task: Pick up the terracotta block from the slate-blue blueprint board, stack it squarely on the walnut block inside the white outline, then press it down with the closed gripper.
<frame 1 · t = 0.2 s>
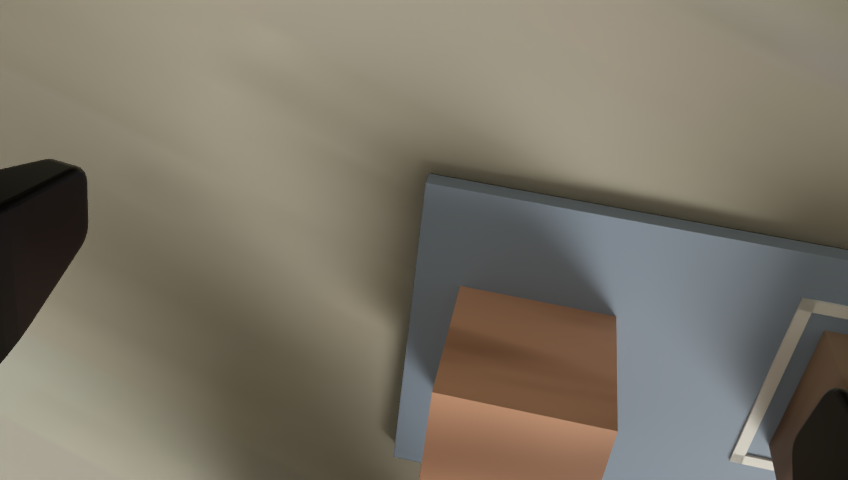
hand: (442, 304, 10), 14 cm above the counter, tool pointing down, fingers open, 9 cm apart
terracotta block: (524, 360, 27), point 1 cm above the counter, touching blueprint board
blueprint board: (688, 381, 27), on the counter
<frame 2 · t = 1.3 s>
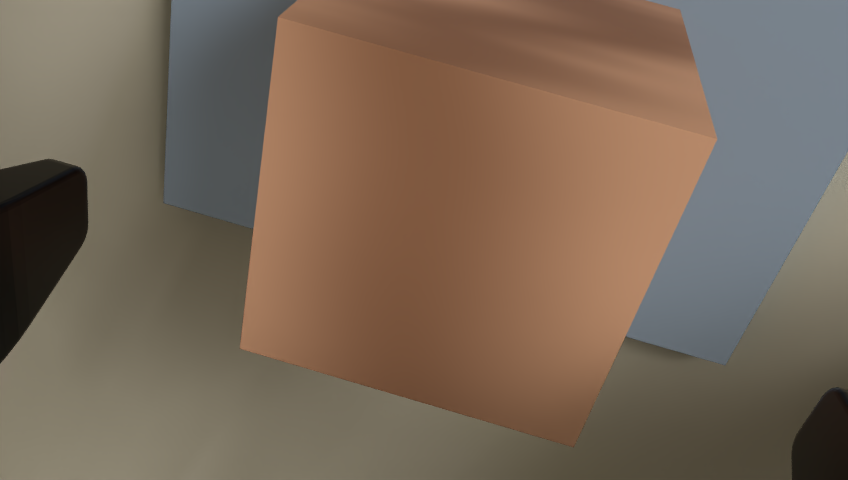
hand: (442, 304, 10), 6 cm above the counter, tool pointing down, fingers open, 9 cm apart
terracotta block: (489, 107, 14), point 1 cm above the counter, touching blueprint board
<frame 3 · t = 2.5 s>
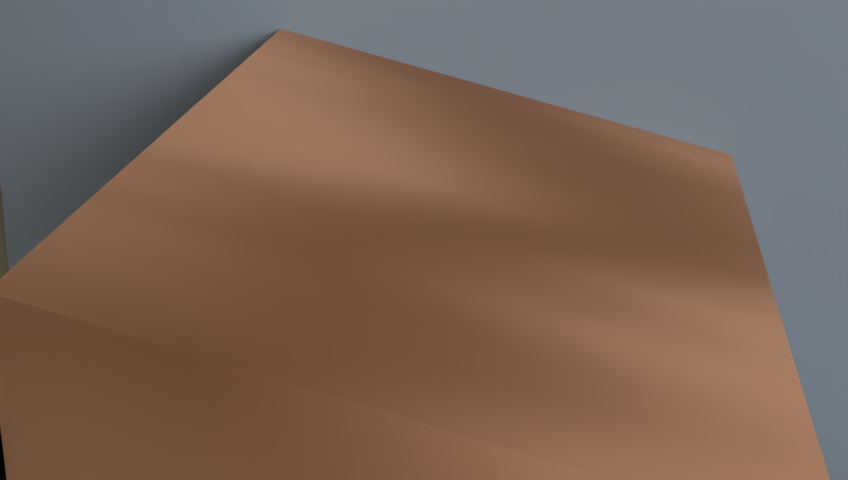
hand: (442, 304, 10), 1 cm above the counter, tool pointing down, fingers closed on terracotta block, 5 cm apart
terracotta block: (450, 274, 10), point 1 cm above the counter, touching blueprint board, gripper
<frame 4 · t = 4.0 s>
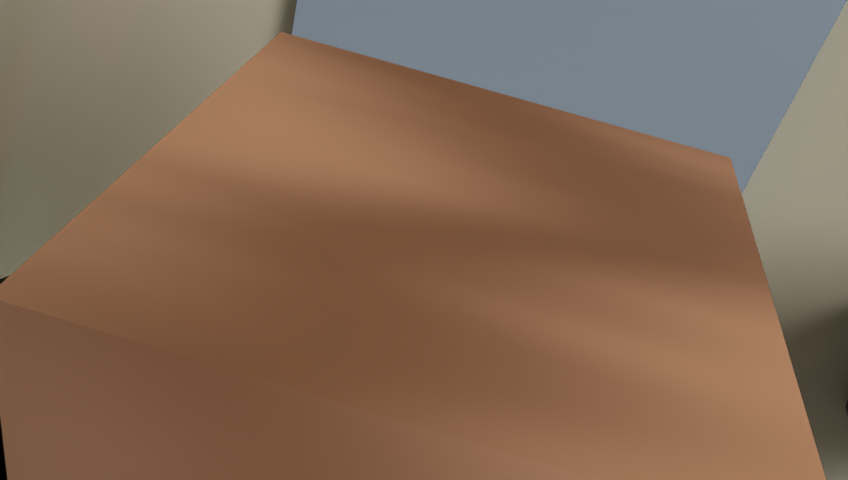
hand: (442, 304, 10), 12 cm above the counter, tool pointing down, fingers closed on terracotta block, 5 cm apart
terracotta block: (449, 276, 10), point 11 cm above the counter, touching gripper
when the fingers open (7 cm above the counter, at t = 5.5 s): terracotta block stays where it is, resting on walnut block.
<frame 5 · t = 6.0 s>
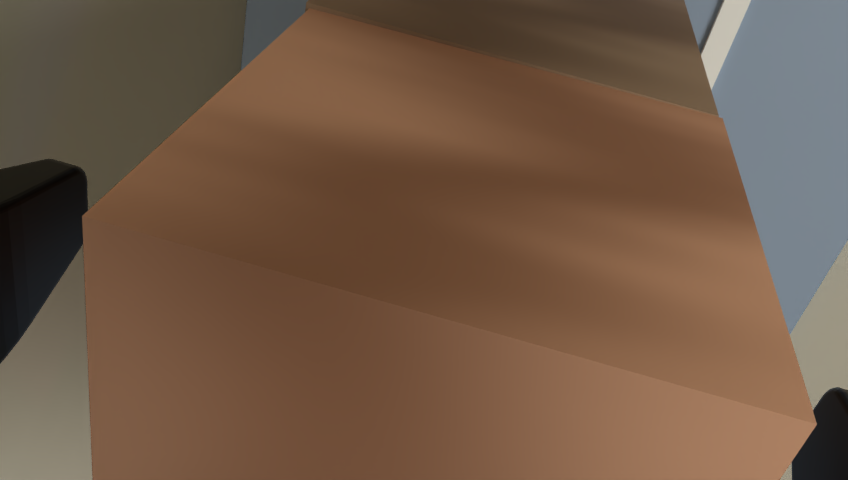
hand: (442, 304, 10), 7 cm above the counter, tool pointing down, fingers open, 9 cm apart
terracotta block: (465, 236, 11), point 6 cm above the counter, touching walnut block
blueprint board: (483, 315, 18), on the counter
walnut block: (500, 95, 15), point 1 cm above the counter, touching blueprint board, terracotta block
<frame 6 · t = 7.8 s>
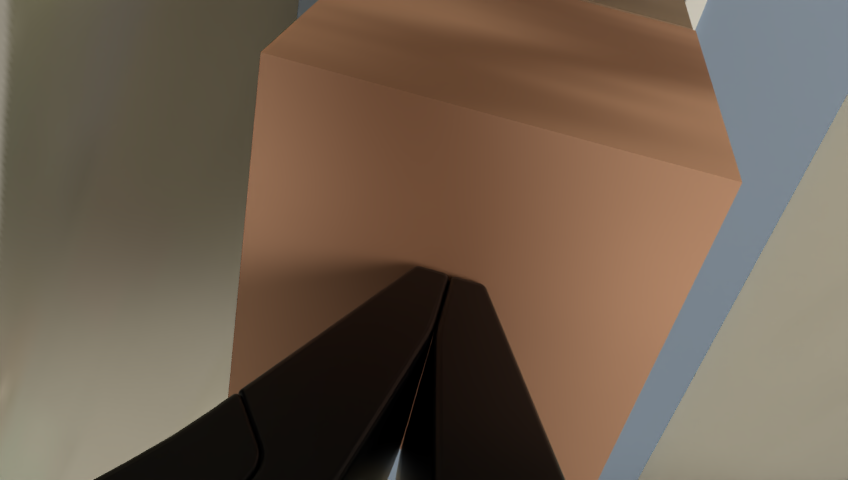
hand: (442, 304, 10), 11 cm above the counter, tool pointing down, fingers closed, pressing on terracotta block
terracotta block: (494, 134, 14), point 6 cm above the counter, touching gripper, walnut block
blueprint board: (500, 240, 21), on the counter
walnut block: (517, 39, 18), point 1 cm above the counter, touching blueprint board, terracotta block
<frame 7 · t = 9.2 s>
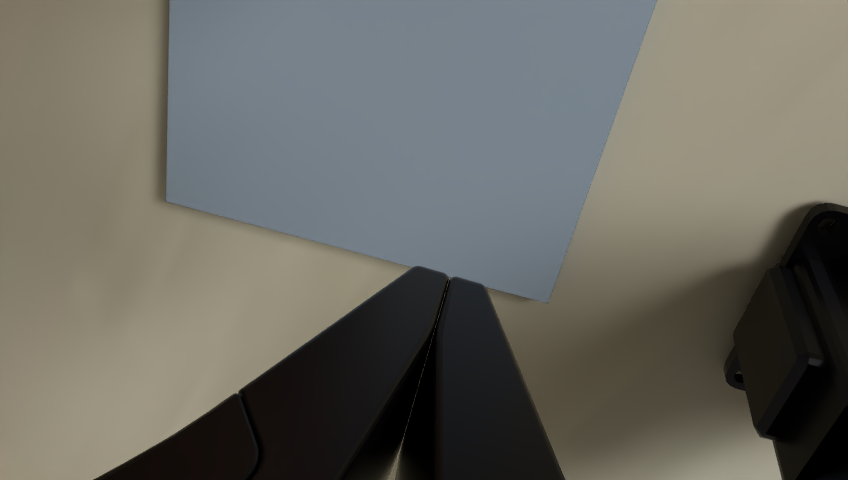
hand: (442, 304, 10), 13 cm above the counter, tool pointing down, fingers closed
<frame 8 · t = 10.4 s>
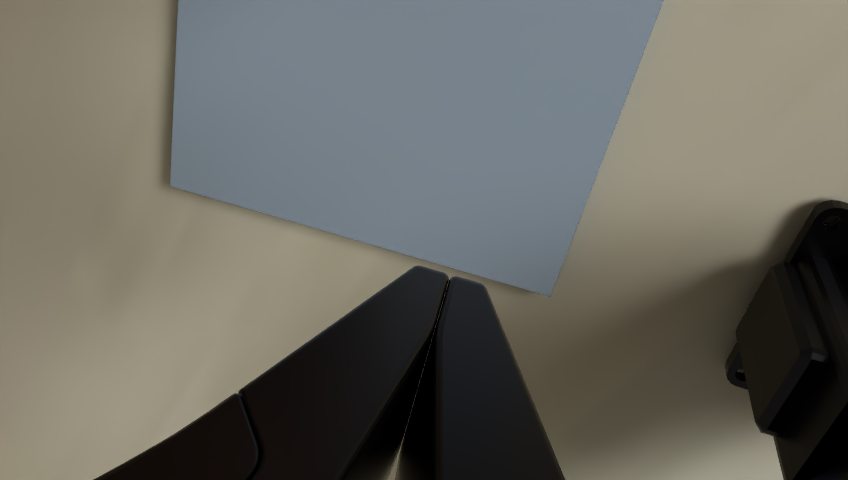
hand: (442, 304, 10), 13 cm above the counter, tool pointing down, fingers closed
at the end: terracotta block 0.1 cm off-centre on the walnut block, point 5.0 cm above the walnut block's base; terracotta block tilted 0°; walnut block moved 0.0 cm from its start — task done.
